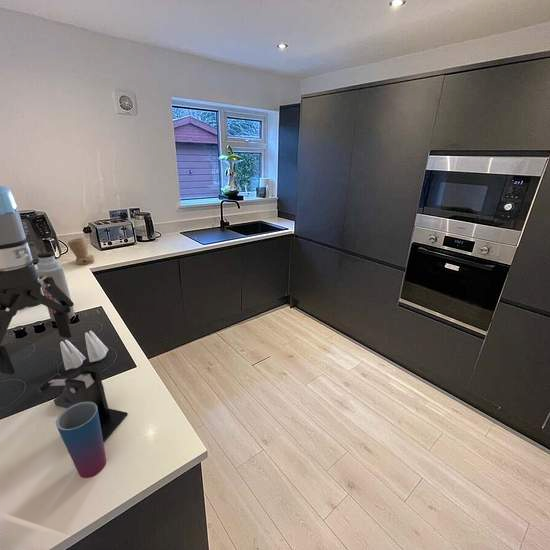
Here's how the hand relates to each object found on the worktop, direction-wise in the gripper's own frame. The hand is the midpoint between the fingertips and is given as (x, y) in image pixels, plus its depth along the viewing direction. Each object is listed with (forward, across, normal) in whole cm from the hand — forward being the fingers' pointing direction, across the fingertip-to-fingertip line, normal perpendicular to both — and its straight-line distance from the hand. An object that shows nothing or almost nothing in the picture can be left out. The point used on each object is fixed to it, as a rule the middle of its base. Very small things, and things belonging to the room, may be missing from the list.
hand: (39, 353), depth 66 cm
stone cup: (+20, +100, +91) cm, 136 cm away
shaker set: (+20, +20, +11) cm, 30 cm away
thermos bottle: (+20, +40, +42) cm, 61 cm away
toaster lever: (+8, 0, -6) cm, 10 cm away
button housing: (+20, +6, +1) cm, 21 cm away
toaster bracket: (+20, 0, -10) cm, 22 cm away
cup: (+20, -9, -18) cm, 28 cm away
